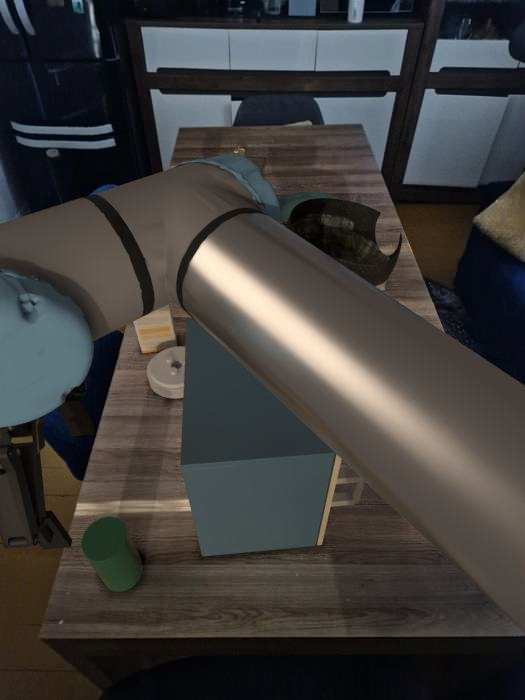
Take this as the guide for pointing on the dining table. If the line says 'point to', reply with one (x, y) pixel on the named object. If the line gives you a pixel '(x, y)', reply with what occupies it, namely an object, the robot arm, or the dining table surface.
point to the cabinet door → (339, 498)
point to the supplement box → (156, 330)
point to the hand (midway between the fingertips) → (72, 483)
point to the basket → (345, 236)
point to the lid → (167, 372)
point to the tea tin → (112, 553)
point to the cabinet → (246, 457)
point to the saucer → (298, 201)
